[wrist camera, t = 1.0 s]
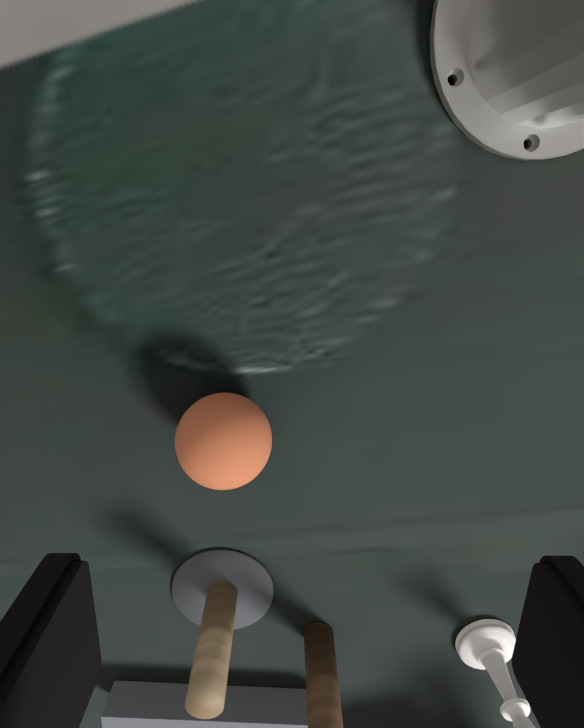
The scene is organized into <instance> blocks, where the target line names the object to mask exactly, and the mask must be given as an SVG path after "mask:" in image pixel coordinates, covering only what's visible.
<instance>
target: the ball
mask: <svg viewBox="0 0 584 728" xmlns="http://www.w3.org/2000/svg"><path fill="white" fill-rule="evenodd" d="M271 446H272V434H271V428H270V425H269V422H268V420H267V418H266V416H265V414H264V413H263V412H262V410H261V409H260V408H259V407H258V406H257V405H256V404H255V403H254V402H252V401H251V400H249V399H248V398H246V397H244V396H241V395H238V394H234V393H215V394H211V395H208V396H206V397H203V398H201V399H200V400H198V401H197V402H195V403H194V404H193V405H191V406H190V407H189V408H188V409H187V411H186V412H185V413H184V415H183V416H182V418H181V420H180V422H179V424H178V427H177V430H176V435H175V450H176V454H177V458H178V460H179V463H180V465H181V466H182V468H183V470H184V471H185V472H186V474H187V475H188V476H189V477H190V478H192V479H193V480H194V481H195V482H197V483H199V484H201V485H203V486H205V487H208V488H211V489H217V490H227V489H234V488H237V487H240V486H242V485H244V484H246V483H248V482H250V481H251V480H253V479H254V478H255V477H256V476H257V475H258V474H259V473H260V472H261V470H262V469H263V468H264V466H265V464H266V462H267V460H268V458H269V455H270V452H271Z"/></svg>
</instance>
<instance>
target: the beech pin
mask: <svg viewBox="0 0 584 728" xmlns="http://www.w3.org/2000/svg"><path fill="white" fill-rule="evenodd" d="M237 597H238V590H237V587H236V586H235V585H234V584H233V583H231V582H229V581H226V580H218V581H215V582H213V583H212V584H211V585H210V586H209V587H208V590H207V595H206V600H205V605H204V610H203V615H202V620H201V625H200V630H199V635H198V640H197V645H196V650H195V655H194V660H193V665H192V670H191V675H190V680H189V685H188V690H187V695H186V700H185V709H186V711H187V712H188V713H189V714H190V715H192V716H193V717H196V718H199V719H212V718H215V717H217V716H218V715H220V714H221V713H222V711H223V709H224V703H225V694H226V686H227V678H228V670H229V662H230V654H231V645H232V637H233V629H234V621H235V613H236V605H237Z"/></svg>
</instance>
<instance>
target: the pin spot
mask: <svg viewBox="0 0 584 728" xmlns="http://www.w3.org/2000/svg"><path fill="white" fill-rule="evenodd" d="M218 580H226V581H229V582H231V583H233V584H234V585H235V586H236V587H237V590H238V597H237V605H236V613H235V621H234V629H233V630H236V629H240V628H244V627H247V626H249V625H251V624H253V623H255V622H256V621H258V620H259V619H260V618H261V617H262V616H263V615H264V614H265V613H266V612H267V611H268V609H269V607H270V605H271V603H272V600H273V582H272V579H271V577H270V575H269V573H268V571H267V570H266V569H265V567H264V566H263V565H262V564H261V563H259V562H258V561H257V560H256V559H254V558H252V557H251V556H249V555H247V554H244V553H241V552H238V551H234V550H227V549H215V550H208V551H204V552H201V553H198V554H196V555H194V556H192V557H191V558H189V559H187V560H186V561H185V562H184V563H183V564H182V565H181V566H180V567H179V569H178V570H177V572H176V574H175V576H174V579H173V583H172V596H173V600H174V602H175V604H176V606H177V608H178V609H179V611H180V612H181V613H182V614H183V615H184V616H185V617H186V618H188V619H189V620H190V621H192V622H194V623H195V624H197V625H201V620H202V615H203V610H204V605H205V600H206V595H207V590H208V587H209V586H210V585H211V584H212V583H213V582H215V581H218Z"/></svg>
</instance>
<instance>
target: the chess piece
mask: <svg viewBox="0 0 584 728" xmlns="http://www.w3.org/2000/svg"><path fill="white" fill-rule="evenodd" d="M515 642H516V638H515V636H514V632H513V630H512V629H511V627H510V626H509V625H507V624H506V623H504V622H502V621H500V620H496V619H482V620H478V621H475V622H472V623H470V624H469V625H467V626H466V627H464V628H463V629H462V630H461V631H460V633H459V634H458V636H457V638H456V642H455V647H456V650H457V652H458V654H459V656H460V658H461V659H462V661H463V662H464V663H465V664H467V665H468V666H470V667H473V668H476V669H486V670H487V671H488V673H489V675H490V676H491V678H492V680H493V682H494V683H495V685H496V687H497V689H498V690H499V692H500V694H501V696H502V698H503V700H504V703H503V704H502V705H501V707H500V712H501V714H502V716H503V717H504V718H505V719H506V720H508V721H513V728H536V727H535V726H534V725H533V724H532V722H531V721H530V720H529V719H528V718H527V716H528V715H529V713H530V705H529V703H528V702H527V701H526V700H525V699H522V698H517V695H516V693H515V690H514V687H513V684H512V681H511V678H510V675H509V672H508V669H507V666H506V662H507V661H509V660H510V659H511V658H512V655H513V650H514V646H515Z"/></svg>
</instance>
